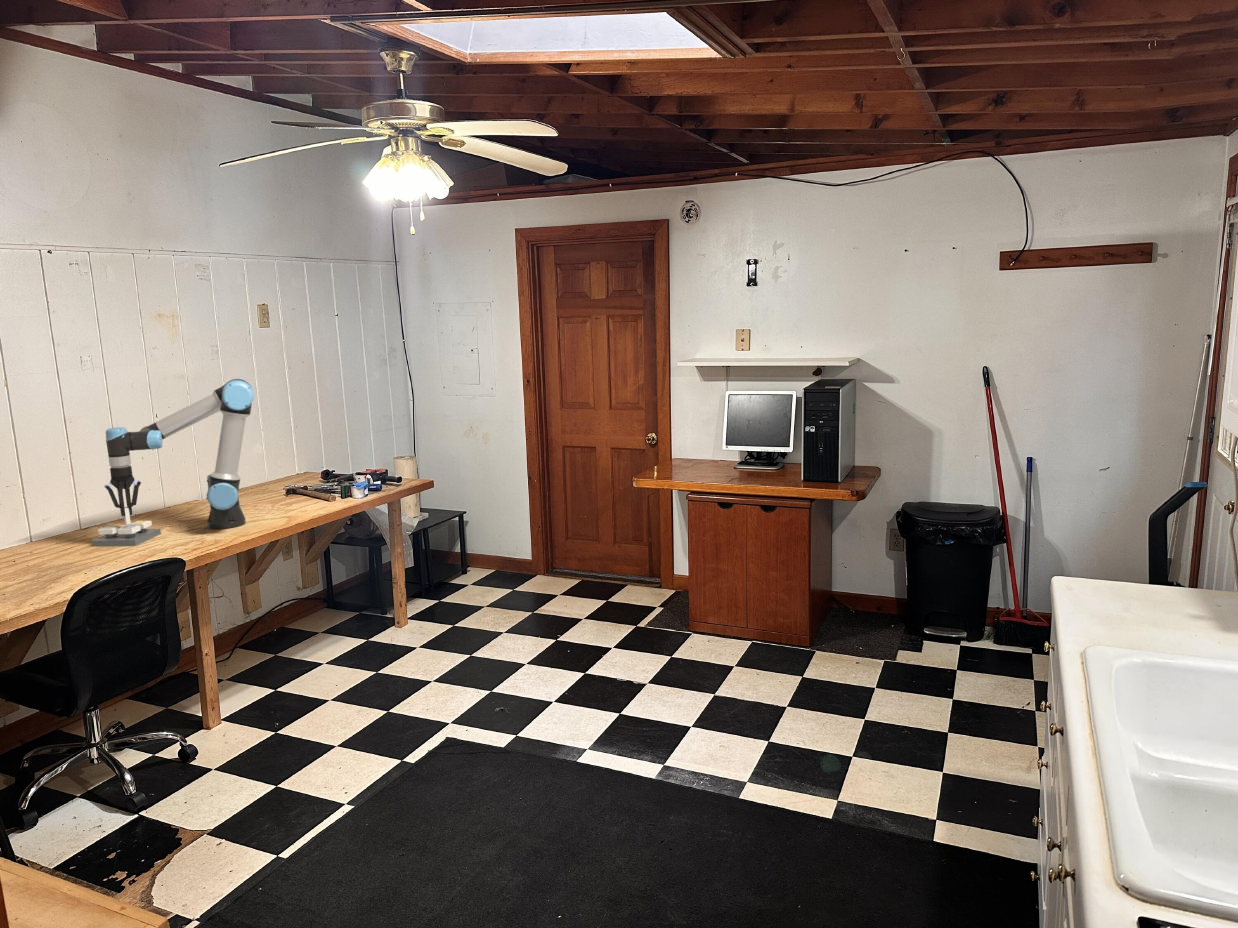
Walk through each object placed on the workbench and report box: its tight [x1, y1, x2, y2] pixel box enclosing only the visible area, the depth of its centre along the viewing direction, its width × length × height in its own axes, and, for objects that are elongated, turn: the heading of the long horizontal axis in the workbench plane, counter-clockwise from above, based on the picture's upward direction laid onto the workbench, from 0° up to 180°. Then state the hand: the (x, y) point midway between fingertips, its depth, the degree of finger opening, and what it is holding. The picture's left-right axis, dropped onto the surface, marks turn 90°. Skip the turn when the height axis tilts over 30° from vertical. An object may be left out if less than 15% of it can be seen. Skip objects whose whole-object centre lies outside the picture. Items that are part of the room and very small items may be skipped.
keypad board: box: [90, 528, 162, 547], centre depth 354 cm, size 18×18×2 cm
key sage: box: [97, 525, 121, 538], centre depth 350 cm, size 6×6×4 cm
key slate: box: [118, 526, 141, 538], centre depth 349 cm, size 6×6×4 cm
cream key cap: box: [129, 520, 153, 533], centre depth 357 cm, size 6×6×4 cm
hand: (127, 523), depth 349 cm, fingers closed
